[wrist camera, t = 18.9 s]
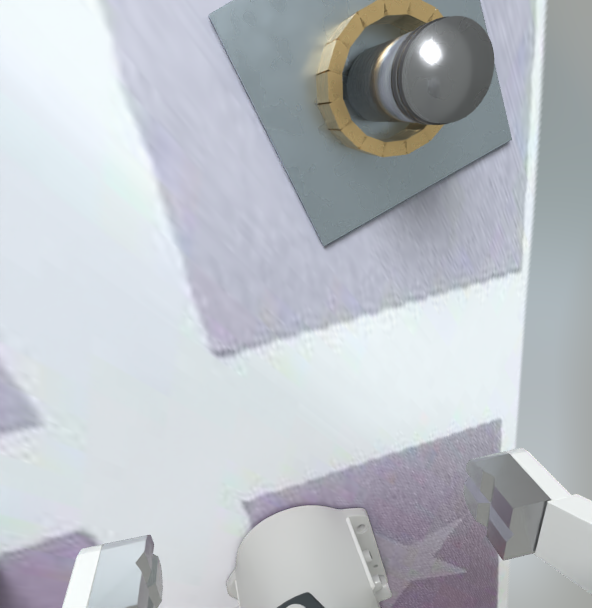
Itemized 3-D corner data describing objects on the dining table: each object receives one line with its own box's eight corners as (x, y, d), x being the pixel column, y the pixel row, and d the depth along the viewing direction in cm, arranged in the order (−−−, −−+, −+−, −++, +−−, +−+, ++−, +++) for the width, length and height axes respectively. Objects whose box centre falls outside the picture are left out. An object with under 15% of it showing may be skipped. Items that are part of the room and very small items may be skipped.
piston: (420, 102, 32) (505, 96, 23) (361, 135, 32) (423, 142, 24) (397, 30, 30) (482, -7, 21) (334, 66, 30) (391, 45, 21)
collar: (508, 139, 36) (537, 141, 32) (322, 244, 36) (334, 256, 33) (446, -122, 28) (478, -153, 24) (208, 16, 28) (209, 3, 25)
